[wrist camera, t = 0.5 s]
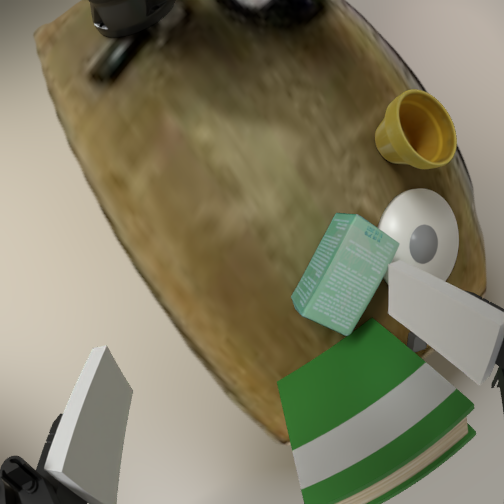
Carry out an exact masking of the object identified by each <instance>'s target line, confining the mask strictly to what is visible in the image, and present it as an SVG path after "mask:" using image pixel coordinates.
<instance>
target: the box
mask: <svg viewBox="0 0 504 504" xmlns="http://www.w3.org/2000/svg"><path fill="white" fill-rule="evenodd" d="M399 244H400V243H398V242H397V241H395V240H394V239H393V238H391V237H390V236H388V235H387V234H386V233H384V232H383V231H381V230H380V229H378V228H377V227H376V226H374V225H373V224H371V223H370V222H368V221H367V220H365V219H364V218H362V217H361V216H359V215H357V214H345V213H336V214H335V216H334V218H333V219H332V221H331V223H330V225H329V227H328V229H327V231H326V233H325V235H324V236H323V238H322V240H321V242H320V244H319V246H318V248H317V250H316V252H315V253H314V255H313V257H312V259H311V261H310V263H309V265H308V267H307V269H306V271H305V272H304V274H303V276H302V278H301V280H300V282H299V284H298V285H297V287H296V289H295V291H294V292H293V294H292V296H291V298H292V301H293V303H294V307H295V309H296V310H297V311H298V312H299V313H300V314H301V315H302V316H303V317H305V318H308V319H310V320H312V321H314V322H317V323H319V324H321V325H323V326H325V327H327V328H330V329H332V330H334V331H336V332H338V333H341V334H343V335H345V336H348V335H350V334H351V333H352V331H353V329H354V327H355V326H356V324H357V322H358V321H359V319H360V317H361V316H362V314H363V312H364V311H365V309H366V307H367V305H368V304H369V302H370V300H371V298H372V297H373V295H374V293H375V291H376V290H377V288H378V286H379V284H380V282H381V280H382V279H383V277H384V275H385V273H386V271H387V269H388V264H391V262H392V260H393V258H394V256H395V254H396V251H397V249H398V247H399Z"/></svg>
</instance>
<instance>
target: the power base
mask: <svg viewBox="0 0 504 504" xmlns="http://www.w3.org/2000/svg"><path fill="white" fill-rule="evenodd" d="M378 229H380V230H381V231H383V232H384V233H386V234H387V235H388V236H390V237H391V238H393V239H394V240H395V241H397V242H398V243H400V244H399V247H398V249H397V251H396V254H395V256H394V258H393V260H392V262H391V263H393V262H396V261H398V260H401V261H403V262H406V263H408V264H410V265H412V266H414V267H416V268H418V269H420V270H423V271H425V272H427V273H429V274H431V275H433V276H435V277H437V278H439V279H441V280H443V281H446V280H447V278H448V277H449V275H450V273H451V271H452V269H453V267H454V264H455V261H456V258H457V253H458V246H459V233H458V226H457V222H456V219H455V216H454V213H453V211H452V209H451V208H450V206H449V204H448V203H447V202H446V201H445V199H444V198H442V197H441V196H440V195H439V194H437V193H436V192H434V191H432V190H429V189H422V188H419V189H410V190H407V191H404V192H402V193H400V194H399V195H398V196H396V197H395V198H394V199H393V200H392V201H391V202H390V203H389V205H388V206H387V207H386V209H385V211H384V212H383V214H382V216H381V219H380V221H379V224H378ZM383 279H384V280H385V282H386V283H387V284H388V285H389V275H388V269H387V271H386V273H385V275H384V277H383ZM426 345H427V343H426V342H424V341H423V340H422V339H421V338H419V337H418V336H417V335H415V334H414V333H413V332H410V333H409V335H408V343H407V347H408V348H410V349H411V350H412V351H413V352H417V351H420V350H423V349H426Z"/></svg>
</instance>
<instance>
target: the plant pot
mask: <svg viewBox="0 0 504 504" xmlns="http://www.w3.org/2000/svg"><path fill="white" fill-rule="evenodd" d="M375 143H376V146H377V149H378V151H379V152H380V154H381V155H382V156H383V157H384V158H385V159H386V160H387V161H389V162H391V163H395V164H409V165H411V166H413V167H415V168H418V169H432V168H437V167H441V166H444V165H446V164H448V163H449V162H450V161H451V160H452V158H453V156H454V154H455V151H456V146H457V138H456V131H455V128H454V124H453V122H452V119H451V118H450V115H449V114H448V112H447V111H446V109H445V108H444V107H443V105H442V104H441V103H440V102H439V101H438V100H437V99H436V98H435V97H433V96H432V95H430V94H429V93H427V92H424V91H421V90H416V89H412V90H408V91H405V92H404V93H402V94H401V95H399V96H398V97H397V98H395V99H394V100H393V101H392V102H391V103H390V104H389V105H388V107H387V109H386V113H385V117H384V119H383V120H382V122H381V123H380V124H379V126H378V127H377V129H376V132H375Z"/></svg>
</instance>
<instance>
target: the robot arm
mask: <svg viewBox="0 0 504 504" xmlns="http://www.w3.org/2000/svg"><path fill="white" fill-rule="evenodd" d="M89 2H90V5H91V12H92V18H93V23H94V25H95V27H96V28H97V29H98V31H99V32H100V33H101V34H103V35H104V36H108V37H122V36H127V35H131V34H134V33H137V32H139V31H142V30H144V29H146V28H148V27H150V26H151V25H153V24H155V23H156V22H157V21H159V20H160V19H161V18H163V17H164V16H165V15H166V14H167V13H168V12H169V11H170V10H171V8H172V7H173V5H174V3H175V0H89ZM388 275H389V307H388V314H389V315H391V316H392V317H393V318H395V319H396V320H397V321H399V322H400V323H401V324H402V325H404V326H405V327H406V328H408V329H409V330H410V331H412V332H413V333H414V334H415V335H417V336H418V337H419V338H421V339H422V340H423V341H424V342H426V343H427V344H428V345H430V346H431V347H432V348H433V349H435V350H436V351H437V352H438V353H440V354H441V355H442V356H443V357H445V358H446V359H447V360H449V361H450V362H451V363H452V364H454V365H455V366H456V367H457V368H458V369H460V370H461V371H462V372H463V373H465V374H466V375H467V376H468V377H469V378H471V379H472V380H473V381H474V382H475V383H477V384H478V385H481V384H482V383H483V382H484V381H485V380H486V379H487V378H488V377H489V376H490V375H491V372H492V370H493V367H494V365H495V364H497V365H498V366H499V368H498V371H497V373H496V375H495V377H494V380H493V382H492V387H491V388H494V386H495V384H496V382H497V380H499V382H498V385H497V387H500V391H501V397H502V404H503V412H504V309H503V308H501V307H499V306H497V305H495V304H494V303H492V302H490V303H489V301H488V300H486V299H484V298H483V299H482V297H480V296H478V295H476V294H475V293H472V292H468V291H464V290H461V289H459V288H457V287H455V286H453V285H451V284H449V283H447V282H445V281H443V280H441V279H439V278H437V277H435V276H433V275H431V274H429V273H427V272H425V271H423V270H420V269H418V268H416V267H414V266H412V265H410V264H408V263H406V262H403V261H401V260H398V261H396V262H393V263H391V264H388ZM132 394H133V390H132V388H131V387H130V385H129V383H128V382H127V380H126V378H125V377H124V375H123V374H122V372H121V370H120V368H119V367H118V365H117V363H116V361H115V360H114V358H113V356H112V354H111V353H110V350H109V349H108V347H107V345H106V346H102V347H96V348H93V349H92V351H91V353H90V355H89V357H88V359H87V361H86V363H85V365H84V367H83V370H82V372H81V374H80V376H79V378H78V380H77V383H76V385H75V387H74V389H73V392H72V394H71V397H70V399H69V401H68V403H67V406H66V408H65V411H64V413H63V414H60V415H59V416H58V417H57V419H56V420H55V421H54V422H53V424H52V427H51V429H50V432H49V433H50V435H48V437H47V440H46V441H47V443H45V445H44V448H43V451H42V454H41V457H40V460H39V463H38V466H37V469H36V470H34V469H33V468H32V467H31V466H30V465H29V464H28V463H27V462H26V461H24V460H23V459H22V458H21V457H19V456H11V457H9V458H8V459H6V460H5V461H4V463H3V464H2V466H1V469H0V504H87V503H89V504H116V502H117V491H118V481H119V473H120V464H121V457H122V450H123V444H124V437H125V431H126V425H127V420H128V414H129V409H130V404H131V399H132Z"/></svg>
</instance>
